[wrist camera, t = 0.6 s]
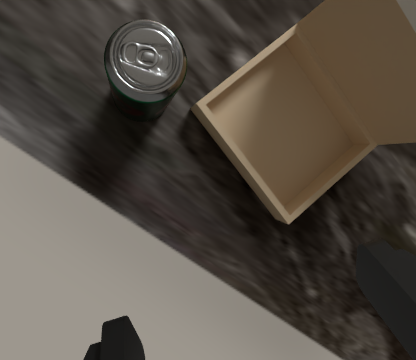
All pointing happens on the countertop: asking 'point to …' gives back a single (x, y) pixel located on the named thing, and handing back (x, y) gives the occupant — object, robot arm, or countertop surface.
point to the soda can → (144, 68)
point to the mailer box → (318, 101)
